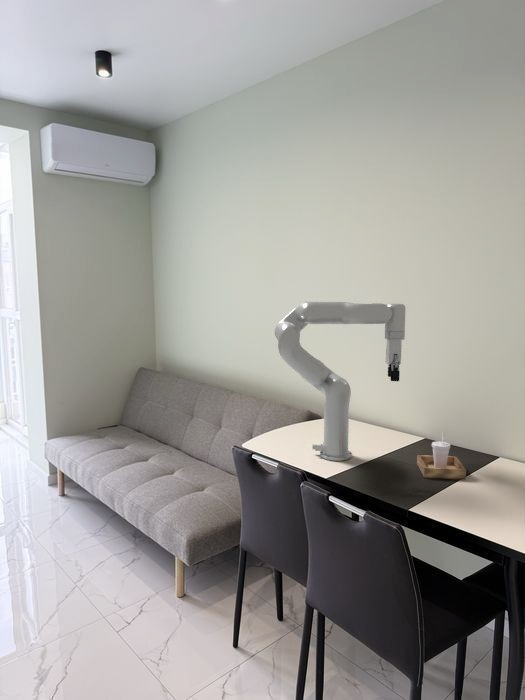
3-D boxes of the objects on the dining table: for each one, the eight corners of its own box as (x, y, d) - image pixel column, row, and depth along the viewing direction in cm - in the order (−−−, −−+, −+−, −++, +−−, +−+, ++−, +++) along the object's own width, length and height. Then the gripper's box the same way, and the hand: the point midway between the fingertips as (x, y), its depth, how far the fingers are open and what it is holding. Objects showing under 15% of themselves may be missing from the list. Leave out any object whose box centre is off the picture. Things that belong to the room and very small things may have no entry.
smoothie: (450, 473, 178) (452, 435, 176) (431, 472, 179) (433, 434, 177) (447, 467, 184) (449, 430, 182) (429, 466, 185) (430, 429, 184)
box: (423, 477, 176) (424, 468, 175) (416, 464, 190) (417, 455, 189) (465, 479, 174) (466, 469, 174) (455, 465, 188) (456, 456, 187)
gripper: (382, 333, 206) (381, 374, 208) (387, 337, 189) (385, 382, 191) (401, 333, 205) (400, 375, 207) (407, 337, 187) (406, 383, 190)
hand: (393, 378), depth 199 cm, fingers open, 9 cm apart
